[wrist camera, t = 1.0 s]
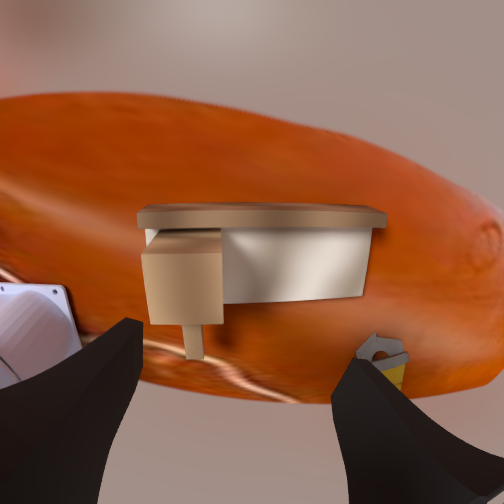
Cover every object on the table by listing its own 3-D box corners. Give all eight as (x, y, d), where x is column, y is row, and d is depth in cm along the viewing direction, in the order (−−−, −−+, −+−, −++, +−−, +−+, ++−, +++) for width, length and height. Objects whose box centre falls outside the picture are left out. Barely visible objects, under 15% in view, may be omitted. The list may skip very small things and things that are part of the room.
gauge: (171, 336, 20) (162, 380, 16) (159, 229, 18) (141, 254, 13) (223, 335, 21) (225, 380, 16) (220, 228, 18) (222, 253, 14)
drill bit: (402, 324, 25) (417, 413, 21) (355, 338, 28) (369, 424, 24) (399, 321, 21) (417, 429, 17) (342, 338, 23) (358, 441, 19)
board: (156, 296, 21) (148, 317, 18) (148, 204, 18) (136, 212, 16) (355, 289, 22) (372, 306, 20) (367, 205, 20) (387, 213, 17)
